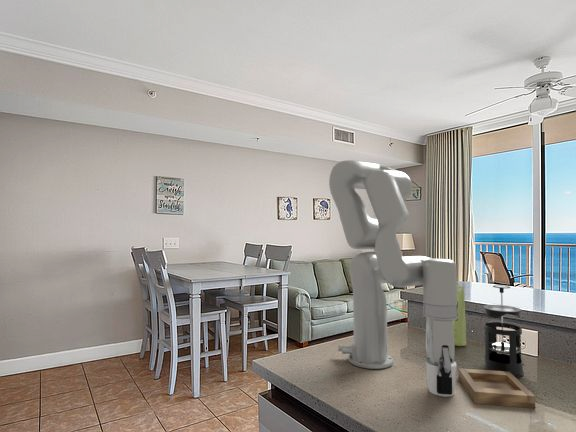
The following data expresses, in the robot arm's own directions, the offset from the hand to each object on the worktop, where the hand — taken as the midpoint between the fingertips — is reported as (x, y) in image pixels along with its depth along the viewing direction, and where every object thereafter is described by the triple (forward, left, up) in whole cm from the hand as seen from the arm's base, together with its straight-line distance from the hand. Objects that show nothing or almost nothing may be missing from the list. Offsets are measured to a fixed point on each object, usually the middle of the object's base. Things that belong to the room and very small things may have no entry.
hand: (441, 386), depth 88 cm
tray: (+12, +2, -1) cm, 12 cm away
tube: (+13, +39, -1) cm, 41 cm away
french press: (+19, +17, -1) cm, 26 cm away
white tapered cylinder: (0, 0, -1) cm, 1 cm away
